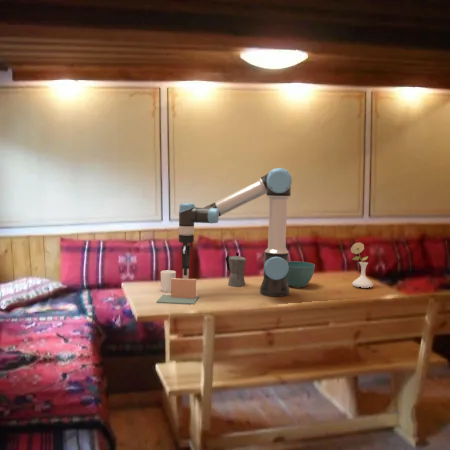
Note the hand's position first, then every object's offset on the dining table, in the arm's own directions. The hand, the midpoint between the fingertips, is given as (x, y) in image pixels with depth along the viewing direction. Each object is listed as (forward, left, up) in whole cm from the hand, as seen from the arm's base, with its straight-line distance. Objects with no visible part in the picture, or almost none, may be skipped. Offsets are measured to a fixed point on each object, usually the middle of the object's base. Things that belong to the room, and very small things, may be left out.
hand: (185, 281), depth 299 cm
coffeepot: (-22, -32, -8) cm, 40 cm away
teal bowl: (-56, -36, -8) cm, 67 cm away
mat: (+2, +10, -8) cm, 12 cm away
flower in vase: (-91, -41, -8) cm, 100 cm away
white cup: (+11, -10, -8) cm, 17 cm away
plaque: (0, +6, -7) cm, 9 cm away
